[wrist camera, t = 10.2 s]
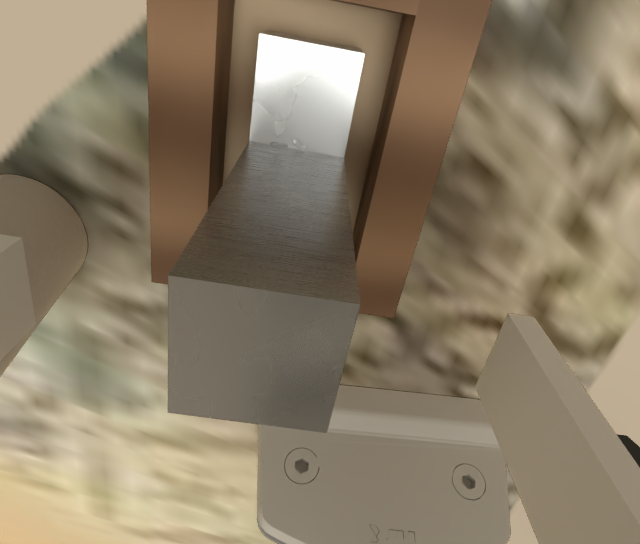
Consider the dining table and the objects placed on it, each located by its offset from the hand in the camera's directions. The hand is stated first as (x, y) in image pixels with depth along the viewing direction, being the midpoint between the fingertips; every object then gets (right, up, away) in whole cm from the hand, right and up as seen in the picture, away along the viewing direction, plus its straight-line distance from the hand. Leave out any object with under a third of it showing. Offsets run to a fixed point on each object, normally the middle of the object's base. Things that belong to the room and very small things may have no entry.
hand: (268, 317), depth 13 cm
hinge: (+5, -10, +20) cm, 23 cm away
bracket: (0, +8, +9) cm, 12 cm away
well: (+1, +8, +9) cm, 12 cm away
